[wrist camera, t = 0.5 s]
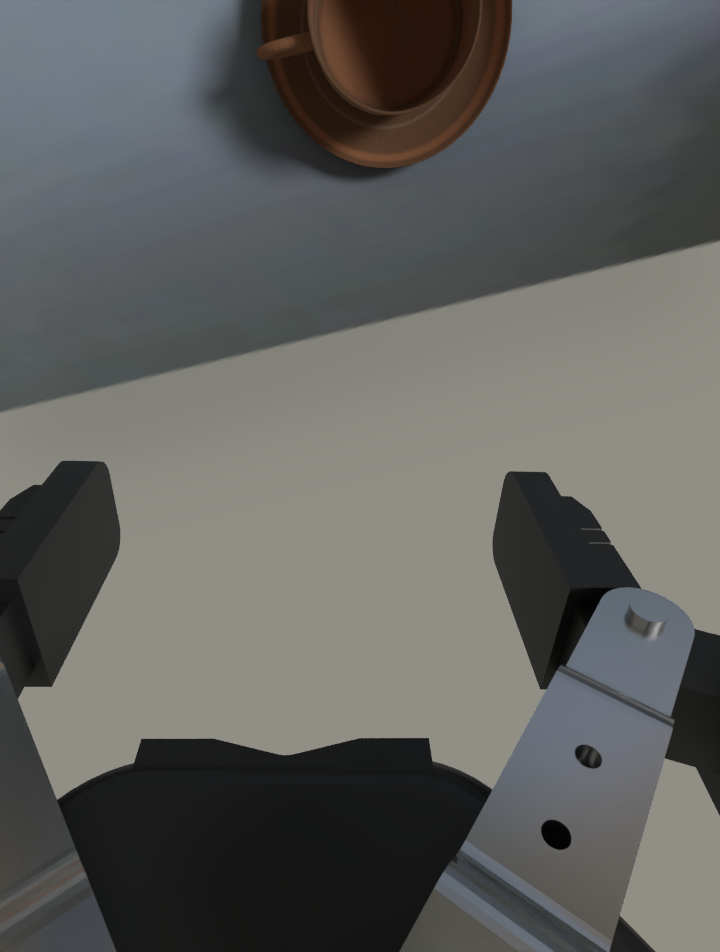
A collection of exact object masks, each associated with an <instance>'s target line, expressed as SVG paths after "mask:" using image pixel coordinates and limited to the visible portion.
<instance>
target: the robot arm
mask: <svg viewBox="0 0 720 952" xmlns="http://www.w3.org/2000/svg"><path fill="white" fill-rule="evenodd" d="M119 545H120V525H119V520H118V515H117V510H116V505H115V500H114V494H113V490H112V484H111V480H110V474H109V471H108V468H107V466H106V464H105V463H104V462H96V461H62V462H60V463H59V465H58V466H57V467H56V468H55V469H54V471H53V472H52V473H51V474H50V476H49V477H48V478H47V479H46V481H45V482H44V483H43V484H42V485H33V486H31V487H29V488H28V489H26V490H24V491H23V492H21V493H20V494H18V495H16V496H15V497H13V498H12V499H10V500H9V501H8V502H7V503H6V505H5V506H4V507H3V508H2V509H1V511H0V952H655V951H654V950H653V949H652V948H651V947H650V946H649V945H648V944H647V943H646V942H645V941H644V940H643V939H642V938H641V937H640V936H639V935H638V934H637V932H636V931H635V930H634V929H633V928H632V927H630V925H629V924H627V922H626V921H625V920H624V919H623V918H622V917H621V916H620V912H621V909H622V905H623V902H624V898H625V895H626V891H627V887H628V884H629V881H630V877H631V874H632V870H633V866H634V863H635V860H636V856H637V853H638V849H639V846H640V842H641V839H642V835H643V832H644V828H645V824H646V821H647V818H648V814H649V811H650V807H651V804H652V800H653V796H654V793H655V790H656V786H657V783H658V779H659V776H660V772H661V769H662V765H663V762H664V758H666V759H669V760H673V761H676V762H680V763H683V764H687V765H690V766H694V767H696V768H697V770H698V772H699V774H700V776H701V778H702V781H703V782H704V784H705V787H706V789H707V791H708V793H709V795H710V797H711V799H712V801H713V803H714V805H715V807H716V809H717V811H718V813H719V815H720V636H719V635H716V634H711V633H707V632H703V631H700V630H696V629H694V626H693V624H692V621H691V620H690V618H689V617H688V615H687V614H686V613H685V612H684V611H683V610H682V609H681V608H680V607H678V606H677V605H676V604H674V603H673V602H671V601H670V600H668V599H667V598H665V597H663V596H661V595H658V594H656V593H653V592H651V591H648V590H643V589H641V587H640V586H639V584H638V583H637V581H636V580H635V578H634V577H633V575H632V573H631V572H630V570H629V569H628V567H627V566H626V564H625V563H624V562H623V560H622V558H621V557H620V555H619V554H618V552H617V551H616V549H615V547H614V546H613V545H611V544H610V540H609V538H608V537H607V535H606V534H605V532H604V531H602V528H601V526H600V525H599V523H598V522H597V520H596V518H595V517H594V515H593V514H592V512H591V511H590V510H588V509H587V508H586V507H585V506H583V505H582V504H580V503H579V502H578V501H577V500H575V499H574V498H573V497H566V496H565V497H564V496H561V495H560V494H559V492H558V490H557V489H556V487H555V485H554V484H553V482H552V480H551V479H550V477H549V476H548V474H547V473H545V472H511V471H510V472H508V473H507V475H506V476H505V479H504V483H503V488H502V493H501V498H500V503H499V508H498V513H497V518H496V523H495V529H494V534H493V556H494V561H495V565H496V567H497V570H498V573H499V576H500V579H501V581H502V584H503V587H504V590H505V593H506V595H507V598H508V601H509V604H510V606H511V609H512V612H513V615H514V617H515V620H516V623H517V626H518V629H519V631H520V634H521V637H522V640H523V642H524V645H525V648H526V651H527V654H528V656H529V659H530V662H531V665H532V668H533V670H534V673H535V676H536V679H537V681H538V684H539V687H540V689H547V690H546V692H545V694H544V695H543V697H542V699H541V701H540V703H539V705H538V706H537V708H536V710H535V712H534V714H533V716H532V718H531V719H530V721H529V723H528V725H527V727H526V729H525V731H524V732H523V734H522V736H521V738H520V740H519V742H518V743H517V745H516V747H515V749H514V751H513V753H512V755H511V757H510V758H509V760H508V762H507V764H506V766H505V768H504V769H503V771H502V773H501V775H500V777H499V779H498V781H497V783H496V784H495V786H494V788H493V790H492V789H491V788H490V787H488V786H486V785H485V784H483V783H482V782H480V781H479V780H477V779H475V778H474V777H471V776H470V775H468V774H466V773H464V772H462V771H460V770H457V769H455V768H452V767H449V766H447V765H444V764H441V763H436V762H433V761H432V758H431V750H430V744H429V738H378V739H377V738H370V739H369V738H365V739H363V738H361V739H360V738H359V739H356V740H351V741H347V742H343V743H339V744H335V745H331V746H326V747H323V748H318V749H314V750H310V751H306V752H302V753H298V754H294V755H278V754H273V753H269V752H265V751H261V750H257V749H253V748H249V747H245V746H240V745H237V744H233V743H229V742H224V741H220V740H216V739H141V743H140V746H139V749H138V752H137V755H136V759H135V762H134V763H133V764H129V765H125V766H122V767H119V768H117V769H114V770H111V771H108V772H106V773H103V774H101V775H99V776H97V777H95V778H93V779H91V780H88V781H87V782H85V783H83V784H81V785H80V786H78V787H76V788H74V789H73V790H71V791H69V792H68V793H66V794H65V795H64V796H62V797H61V798H59V799H58V800H57V799H56V797H55V794H54V791H53V789H52V786H51V784H50V781H49V779H48V776H47V774H46V771H45V769H44V766H43V763H42V761H41V758H40V756H39V753H38V750H37V748H36V745H35V743H34V740H33V738H32V735H31V732H30V730H29V727H28V725H27V722H26V720H25V717H24V715H23V712H22V710H21V707H20V705H19V702H18V697H19V696H20V694H21V692H22V690H23V688H24V687H26V686H27V687H52V685H53V683H54V681H55V679H56V677H57V675H58V673H59V671H60V668H61V667H62V665H63V663H64V661H65V659H66V657H67V655H68V653H69V651H70V649H71V647H72V645H73V643H74V641H75V639H76V637H77V635H78V633H79V631H80V629H81V627H82V625H83V623H84V621H85V619H86V617H87V615H88V613H89V611H90V609H91V607H92V605H93V603H94V601H95V599H96V597H97V595H98V593H99V591H100V589H101V587H102V585H103V583H104V581H105V579H106V577H107V575H108V573H109V571H110V569H111V567H112V565H113V563H114V561H115V559H116V557H117V554H118V550H119Z"/></svg>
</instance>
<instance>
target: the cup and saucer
mask: <svg viewBox="0 0 720 952" xmlns="http://www.w3.org/2000/svg"><path fill="white" fill-rule="evenodd" d="M511 23H512V0H262V1H261V26H262V37H263V44H264V45H262V46H260V47H259V48H258V50H257V56H258V58H260V59H262V60H267V63H268V67H269V70H270V73H271V76H272V79H273V82H274V84H275V86H276V89H277V91H278V93H279V95H280V97H281V99H282V101H283V103H284V105H285V106H286V108H287V110H288V111H289V113H290V114H291V116H292V117H293V118H294V120H295V121H296V122H297V124H298V125H299V126H300V127H301V128H302V129H303V130H304V132H305V133H306V134H307V135H308V136H309V137H310V138H312V139H313V140H314V141H315V142H316V143H317V144H319V145H320V146H321V147H323V148H324V149H325V150H327V151H328V152H330V153H332V154H334V155H335V156H337V157H339V158H341V159H344V160H346V161H348V162H351V163H354V164H357V165H362V166H367V167H374V168H395V167H402V166H407V165H411V164H415V163H417V162H420V161H423V160H425V159H428V158H430V157H432V156H434V155H436V154H437V153H439V152H441V151H442V150H444V149H445V148H447V147H448V146H449V145H451V144H452V143H453V142H455V141H456V140H457V139H458V138H459V137H460V136H461V135H462V134H463V133H464V132H465V131H466V130H467V129H468V128H469V127H470V126H471V125H472V124H473V122H474V121H475V120H476V118H477V117H478V116H479V115H480V113H481V112H482V110H483V109H484V107H485V105H486V104H487V102H488V100H489V98H490V97H491V95H492V93H493V91H494V89H495V87H496V84H497V82H498V80H499V77H500V74H501V71H502V69H503V66H504V62H505V58H506V55H507V51H508V46H509V40H510V34H511Z"/></svg>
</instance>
